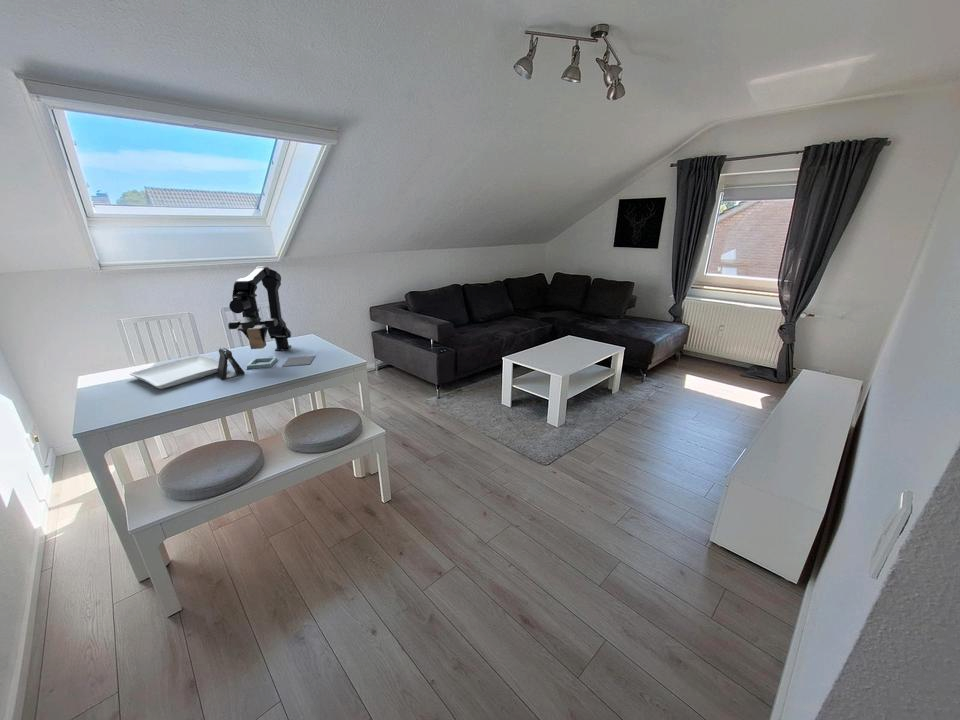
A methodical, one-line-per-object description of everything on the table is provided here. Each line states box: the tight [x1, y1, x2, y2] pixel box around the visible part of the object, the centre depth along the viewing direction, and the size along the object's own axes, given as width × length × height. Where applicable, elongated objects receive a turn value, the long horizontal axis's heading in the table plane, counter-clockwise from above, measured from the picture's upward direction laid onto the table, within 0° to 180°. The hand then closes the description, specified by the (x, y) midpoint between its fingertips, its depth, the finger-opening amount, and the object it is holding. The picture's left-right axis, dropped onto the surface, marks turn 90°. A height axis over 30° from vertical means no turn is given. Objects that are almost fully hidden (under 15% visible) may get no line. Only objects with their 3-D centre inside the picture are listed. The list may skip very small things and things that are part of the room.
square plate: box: [129, 354, 230, 390], centre depth 161 cm, size 27×27×4 cm
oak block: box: [247, 326, 267, 350], centre depth 169 cm, size 5×5×9 cm
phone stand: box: [216, 347, 246, 381], centre depth 159 cm, size 9×6×12 cm, turn 141°
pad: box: [281, 355, 316, 368], centre depth 177 cm, size 12×12×1 cm
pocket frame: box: [246, 356, 278, 370], centre depth 173 cm, size 10×10×2 cm
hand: (257, 341), depth 170 cm, fingers closed on oak block, 5 cm apart
